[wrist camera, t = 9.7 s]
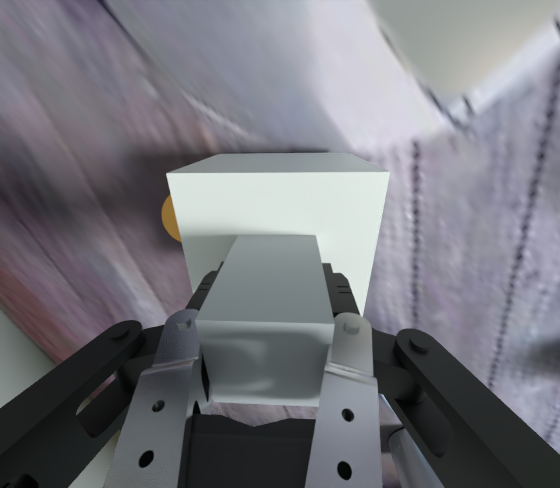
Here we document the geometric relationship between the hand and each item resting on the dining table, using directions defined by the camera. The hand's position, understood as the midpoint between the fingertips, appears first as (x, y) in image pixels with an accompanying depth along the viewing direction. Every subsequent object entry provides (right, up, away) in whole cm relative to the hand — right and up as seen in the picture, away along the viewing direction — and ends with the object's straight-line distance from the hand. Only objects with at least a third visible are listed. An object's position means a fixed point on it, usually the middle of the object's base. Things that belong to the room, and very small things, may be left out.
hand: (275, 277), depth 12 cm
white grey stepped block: (+1, +4, +9) cm, 10 cm away
